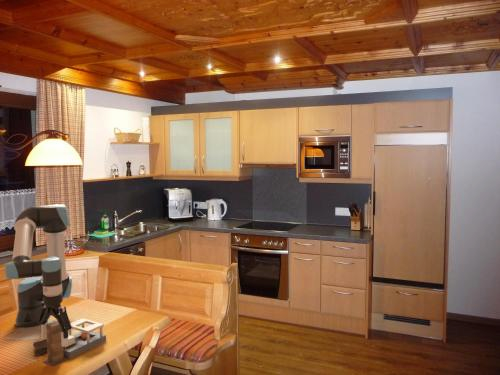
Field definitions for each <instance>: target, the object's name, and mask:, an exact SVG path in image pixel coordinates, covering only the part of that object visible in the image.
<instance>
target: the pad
mask: <svg viewBox="0 0 500 375" xmlns="http://www.w3.org/2000/svg"><path fill="white" fill-rule="evenodd" d="M63 357H64V356H63ZM68 359H69V358H67V357H64V359H62V360H60V361H57V362H55V363H53V362H50V361H48V358H46V359H45V360H43V363H45V364H48V365H50V366H52V367H55V366H57V365H59V364H61V363H63V362H65V361H67V360H68Z"/></svg>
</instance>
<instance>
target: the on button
mask: <svg viewBox="0 0 500 375" xmlns="http://www.w3.org/2000/svg"><path fill="white" fill-rule="evenodd" d="M74 343H75V337H73V336H72V335H71V336H70V335H69V334H68V345H65V346H63V347H68V346H70V345H72V344H74ZM68 348H69V347H68Z"/></svg>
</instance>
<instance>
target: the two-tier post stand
mask: <svg viewBox="0 0 500 375" xmlns="http://www.w3.org/2000/svg"><path fill="white" fill-rule="evenodd" d="M70 324H71V327H72V329H70V330H68V335H70V336H73V337H75V343H74V344H72V345H70V346H68V347H63V356H64V357H67V358H68V359H72V358H75V357H77V356H79V355H81V354H82V353H85V352H87V351H89V350H90V349H93V348H95V347H97V346H99V345H101V344H102V343H103V344H104V343H106V342H107V335H106V334H104V333H103V332H104V331H103V327H104V326H105V325H104V323H100V322H97V321H93V320H91V319H87V318H81V319H77V320H75V321H73V322H70ZM85 324H90V325H89V326H85ZM98 329H99V332H97V331H96V330H98ZM72 330H76V331H79V332H77V333H75V334H73V335H72ZM81 332H86V333H87V340H85V341H83V340H82V333H81ZM89 333H90V335H89Z"/></svg>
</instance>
